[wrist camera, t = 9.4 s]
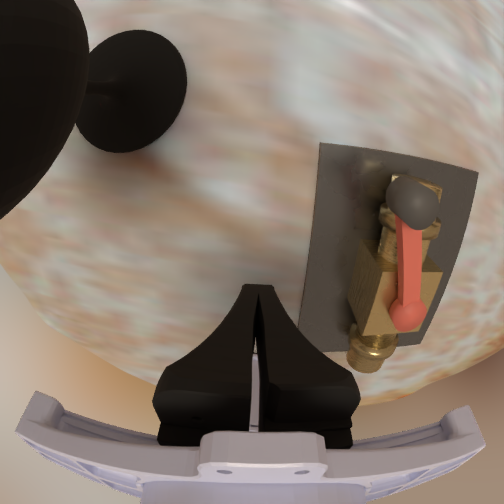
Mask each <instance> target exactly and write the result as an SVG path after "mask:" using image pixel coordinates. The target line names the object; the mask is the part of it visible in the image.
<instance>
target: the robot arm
mask: <svg viewBox="0 0 504 504" xmlns="http://www.w3.org/2000/svg"><path fill="white" fill-rule="evenodd" d="M255 337H256V346H257V354H253V352H254V345H255ZM360 400H361V398H360V392H359V389H358V386H357V383H356V381H355V379H354V377H353V375H352V373H351V372H350V371H348V370H347V369H345V368H343V367H342V366H340V365H338V364H337V363H335V362H334V361H332V360H331V359H330V358H328V357H327V356H325V355H324V354H323V353H322V352H321V351H319V350H318V349H317V348H316V347H315V346H314V345H313V344H312V343H311V342H310V341H309V340H308V339H307V338H306V337H305V336H304V335H303V334H302V333H301V332H300V330H299V329H298V328H297V327H296V325H295V324H294V323H293V321H292V320H291V319H290V317H289V316H288V314H287V312H286V311H285V309H284V308H283V306H282V304H281V302H280V300H279V299H278V297H277V294H276V292H275V290H274V287H273V286H272V285H260V284H244V285H243V286H242V289H241V292H240V294H239V296H238V298H237V300H236V302H235V303H234V305H233V307H232V308H231V310H230V311H229V313H228V314H227V316H226V317H225V318H224V320H223V321H222V322H221V324H220V325H219V326H218V327H217V328H216V329H215V331H214V332H213V333H212V334H211V335H210V336H209V337H208V338H207V339H206V340H205V341H204V342H202V343H201V344H200V345H199V346H198V347H196V348H195V349H194V350H192V351H191V352H190V353H188V354H187V355H186V356H184V357H183V358H181V359H180V360H178V361H176V362H174V363H173V364H171V365H169V366H167V367H166V368H165V370H164V372H163V373H162V375H161V377H160V379H159V381H158V384H157V386H156V390H155V393H154V397H153V400H152V403H153V407H154V409H155V411H156V413H157V415H158V417H159V419H160V421H161V424H160V428H159V432H158V436H155V435H151V434H146V433H141V432H136V431H133V430H128V429H124V428H121V427H117V426H113V425H109V424H106V423H102V422H99V421H96V420H93V419H90V418H86V417H83V416H81V415H78V414H75V413H72V412H70V411H67V410H64V408H63V406H62V405H61V403H59V401H57V400H56V399H55V398H53V397H50V396H48V395H45V394H43V393H41V392H38V391H35V392H34V394H33V396H32V398H31V400H30V402H29V404H28V406H27V407H26V409H25V412H24V413H23V415H22V417H21V419H20V422H19V424H18V426H17V428H16V430H15V433H16V434H17V435H18V436H19V437H20V438H21V439H22V440H24V441H25V442H26V443H27V444H28V445H29V446H30V447H32V448H33V449H34V450H35V451H37V452H38V453H39V454H40V455H41V456H43V457H44V458H46V459H48V460H50V461H52V462H53V463H55V464H58V465H60V466H62V467H64V468H66V469H68V470H70V471H72V472H74V473H76V474H79V475H81V476H83V477H85V478H88V479H90V480H92V481H95V482H97V483H99V484H102V485H104V486H107V487H110V488H112V489H115V490H118V491H120V492H123V493H126V494H129V495H133V496H135V497H139V498H141V502H140V504H366V502H368V501H372V500H375V499H379V498H382V497H385V496H389V495H391V494H395V493H397V492H400V491H403V490H406V489H409V488H412V487H414V486H417V485H419V484H422V483H424V482H427V481H429V480H432V479H434V478H437V477H439V476H441V475H443V474H446V473H448V472H450V471H453V470H455V469H456V468H457V467H459V466H460V465H462V464H463V463H465V462H466V461H467V460H469V459H470V458H471V457H473V456H474V455H475V454H476V453H478V452H479V451H480V450H482V449H483V448H484V447H485V445H486V444H485V441H484V439H483V437H482V434H481V432H480V429H479V427H478V424H477V422H476V420H475V418H474V415H473V413H472V411H471V409H470V406H469V405H466V406H463V407H460V408H457V409H454V410H452V411H450V412H448V413H447V414H445V415H444V416H443V418H442V419H441V420H440V421H439V422H436V423H433V424H429V425H426V426H422V427H419V428H415V429H411V430H407V431H402V432H398V433H394V434H389V435H384V436H379V437H373V438H368V439H362V440H355V441H353V440H352V435H351V430H350V428H351V427H352V421H351V416H352V414H353V413H354V411H355V410H356V408H357V406H358V405H359V402H360Z"/></svg>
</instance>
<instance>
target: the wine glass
mask: <svg viewBox="0 0 504 504" xmlns="http://www.w3.org/2000/svg"><path fill="white" fill-rule="evenodd" d="M186 86H187V77H186V69H185V65H184V62H183V59H182V57H181V55H180V53H179V52H178V50H177V49H176V47H175V46H174V45H173V44H172V43H171V42H170V41H169V40H167V39H166V38H164V37H163V36H161V35H159V34H157V33H154V32H151V31H146V30H130V31H125V32H121V33H118V34H116V35H113V36H111V37H109V38H107V39H106V40H104V41H103V42H101V43H100V44H99V45H98V46H97V47H95V48H94V49H93V50H92V51H91V52H90V53H89V43H88V35H87V30H86V27H85V24H84V20H83V17H82V14H81V12H80V10H79V8H78V7H77V5H76V3H75V1H74V0H0V219H2V218H3V217H4V216H5V215H6V214H8V213H9V212H10V211H11V210H12V209H13V208H14V207H15V206H16V205H17V204H18V203H19V202H20V201H21V200H22V199H24V198H25V197H26V196H27V195H28V194H29V193H30V191H31V190H32V189H33V188H34V187H35V186H36V185H37V183H38V182H39V181H40V180H41V178H42V177H43V176H44V175H45V174H46V172H47V171H48V170H49V169H50V167H51V165H52V164H53V162H54V161H55V159H56V158H57V156H58V154H59V153H60V151H61V150H62V148H63V146H64V145H65V143H66V141H67V139H68V137H69V135H70V133H71V131H72V129H73V127H74V124H75V123H76V126H77V127H78V129H79V131H80V133H81V134H82V135H83V136H84V138H85V139H86V140H87V141H89V142H90V143H91V144H92V145H94V146H96V147H97V148H99V149H102V150H105V151H108V152H114V153H124V152H130V151H134V150H137V149H140V148H143V147H145V146H147V145H149V144H151V143H152V142H153V141H155V140H156V139H158V138H159V137H160V136H161V135H162V134H163V133H164V132H165V131H166V130H167V129H168V128H169V127H170V125H171V124H172V123H173V122H174V120H175V118H176V117H177V115H178V113H179V111H180V109H181V106H182V104H183V101H184V97H185V93H186Z"/></svg>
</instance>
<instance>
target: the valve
mask: <svg viewBox="0 0 504 504" xmlns="http://www.w3.org/2000/svg"><path fill="white" fill-rule="evenodd" d="M401 176H407V177H410V178H412V179H414V180H415V181H417V182H419V183H421V184H423V185H424V186H426V187H428V188H430V189H431V190H433V191H434V192H435V193H436V195H437V197H438V199H439V212H438V215H437V218H436V219H435V221H434V222H433V223H432V224H431V225H430V226H429V227H428V228H426V229H423V230H422V271H421V290H420V299H421V300H422V301H423V303H424V304H425V306H426V308H427V314H426V317H425V319H424V320H423V321H422V323H421V324H420V325H419V326H417V327H416V328H414V329H413V330H410V331H407V332H400V331H398V330H397V329H396V328H395V326H394V324H393V322H392V320H391V318H390V316H389V310H390V307H391V305H392V304H393V302H394V301H395V300H396V299H397V298H398V258H397V238H396V224H395V214H394V213H393V212H392V211H391V210H390V209H389V208H388V206H387V203H386V191H387V188H388V186H389V184H390V183H391V182H392V181H393V180H394V179H396V178H398V177H401ZM477 179H478V172H476V171H473V170H469V169H465V168H462V167H458V166H454V165H450V164H446V163H442V162H438V161H433V160H429V159H424V158H420V157H415V156H410V155H405V154H399V153H394V152H388V151H382V150H376V149H369V148H362V147H355V146H347V145H338V144H329V143H320V150H319V163H318V175H317V186H316V196H315V206H314V215H313V224H312V233H311V241H310V249H309V257H308V264H307V272H306V279H305V286H304V292H303V299H302V305H301V312H300V318H299V324H298V329H299V330H300V332H301V333H302V334H303V335H304V336H305V337H306V338H307V339H308V340H309V341H310V342H311V343H312V344H313V345H314V346H315V347H316V348H317V349H318V350H319V351H321V352H335V351H348V352H347V361H348V363H349V365H350V366H351V367H352V368H353V369H355V370H356V371H358V372H361V373H373V372H376V371H377V370H379V369H380V368H381V366H382V364H383V362H384V360H385V359H387V358H388V357H390V356H391V355H392V354H393V352H394V351H395V348H396V347H399V346H408V345H416V344H420V343H421V341H422V339H423V337H424V335H425V333H426V331H427V329H428V327H429V325H430V323H431V321H432V319H433V316H434V314H435V312H436V310H437V308H438V305H439V303H440V301H441V298H442V296H443V294H444V291H445V289H446V286H447V284H448V281H449V278H450V276H451V273H452V270H453V267H454V265H455V262H456V259H457V256H458V253H459V250H460V247H461V244H462V240H463V237H464V234H465V230H466V226H467V223H468V219H469V215H470V211H471V207H472V203H473V198H474V194H475V189H476V184H477Z"/></svg>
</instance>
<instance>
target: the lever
mask: <svg viewBox="0 0 504 504" xmlns="http://www.w3.org/2000/svg"><path fill="white" fill-rule="evenodd" d="M386 203H387V206H388V208H389V209H390V210H391V211H392V212H393V213H394V214H395V224H396V238H397V258H398V298H397V299H396V300H395V301H394V302H393V304H392V305H391V307H390V310H389V316H390V318H391V320H392V322H393V324H394V326H395V328H396V329H397V330H398V331H400V332H407V331H410V330H413V329H414V328H416V327H417V326H419V325H420V324H421V323H422V321H423V320H424V319H425V317H426V314H427V308H426V306H425V304H424V303H423V301H422V300H421V299H420V290H421V271H422V230H423V229H426V228H428V227H429V226H430V225H431V224H432V223H433V222H434V221H435V219H436V218H437V215H438V212H439V199H438V197H437V195H436V193H435V192H434V191H433V190H431V189H430V188H428V187H426V186H424V185H423V184H421V183H419V182H417V181H415V180H414V179H412V178H410V177H407V176H401V177H398V178H396V179H394V180H393V181H392V182H391V183H390V184H389V186H388V188H387V191H386Z"/></svg>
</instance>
